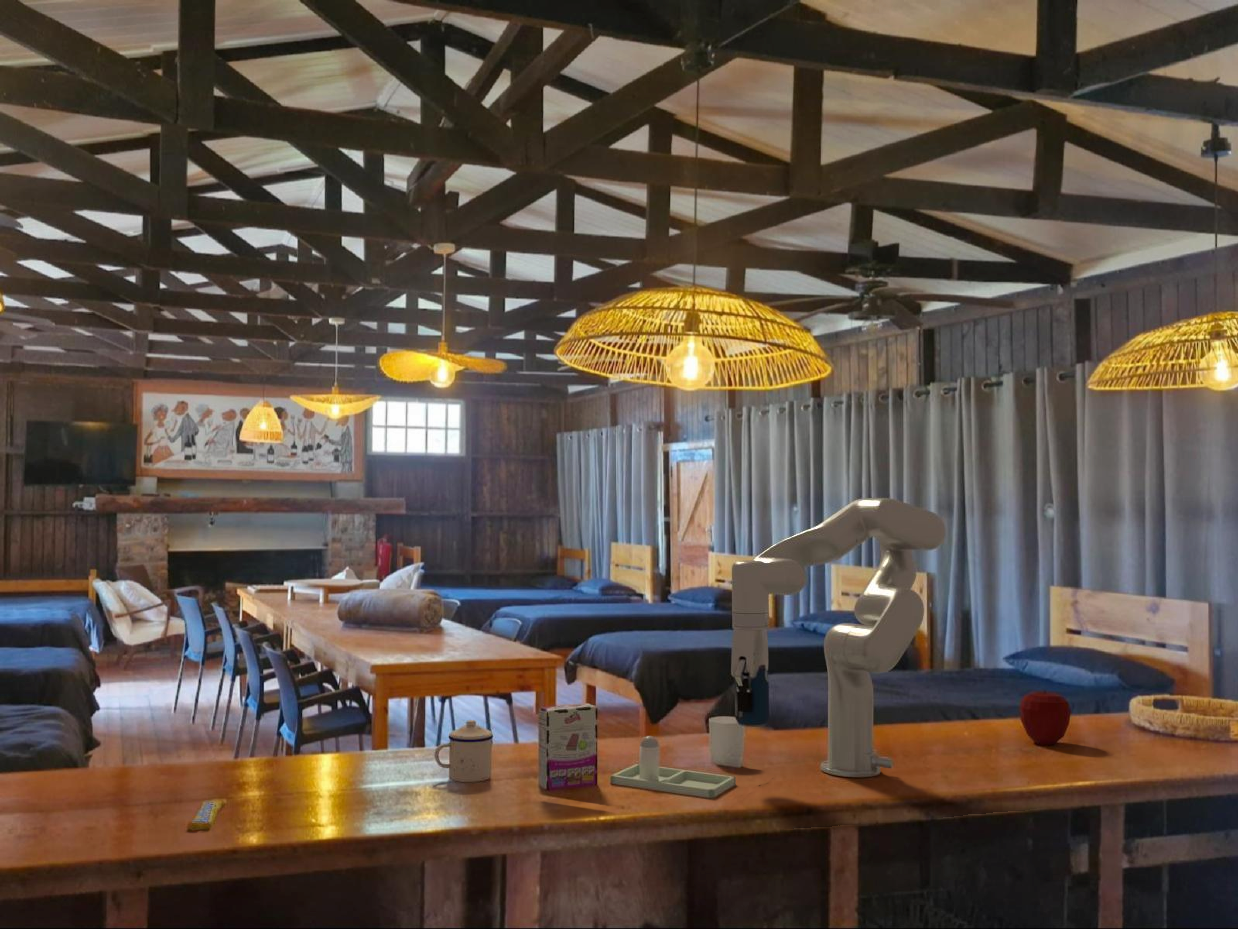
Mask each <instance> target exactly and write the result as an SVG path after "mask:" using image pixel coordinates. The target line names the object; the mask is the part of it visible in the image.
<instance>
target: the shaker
mask: <svg viewBox="0 0 1238 929" xmlns="http://www.w3.org/2000/svg"><path fill="white" fill-rule="evenodd" d="M638 755H639V758H638V759H639V761H638V762H639V763H638V764H639V779H645V780H652V781H659V767H660V745H659V741H658V740H657V738H656V737H654V736H652V735H646V736H645V737H643V738H642V739H641V740H640V743H639V754H638Z"/></svg>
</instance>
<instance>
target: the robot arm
mask: <svg viewBox="0 0 1238 929" xmlns="http://www.w3.org/2000/svg"><path fill="white" fill-rule="evenodd" d="M874 537H877V539H878V540H877V541H878V545H879V549H880V559H879V565H878V566H877V568H876V570H875V571H874V574H873V575H872V576H871V578H870V579H869V580H868V582H867V584H866V585H865V587H864V588H863V590H862V591H861V593H860V595H859V596H858V598H857V599H856V600H855V601H856V602H855V605H854V610H853V612H854V617H855V618H856V620H857V621H858V622H859V624H858V623H852V622H842V623H838V624H835V625H833V626H832V627H831V628H830V629H829V630H827V633H826V635H825V637H824V642H823V652H824V659H825V663H826V668H827V678H828V679H827V682H828V684H827V685H828V689H827V690H828V691H827V692H828V698H827V699H828V700H827V704H828V705H827V717H828V718H827V726H828V727H827V735H828V736H827V737H828V738H827V739H828V740H827V760H823V761H821V763H820V770H821V771H822V772H824V773H826V774H829V775H833V776H837V777H844V778H868V777H869V778H871V777H875V776H879V775H880V773H881V768H883V769H893V767H894V760H893V759H891V758H890V757H888V756H887V757H886V756H880V755H878V751H877V749H874V684H873V681H872V680H873V679H872V677H871V675H870V673H873V674H884V673H887V672H889V671H890V670H892V669H893V668H894V667H895V666H896V665H897V664H898V663H899V661H900V660H901V658H902V656H903V655H904V653H905V652H906V650H907V649H908V647H909V646H910V644H911V643H912V641H913V639H914V637H916V634H917V633H918V631H919V630H920V628H921V625H922V623H923V620H924V615H925V608H924V607H925V606H924V602H923V599H922V598H921V596H920V594H918V593H917V592H916V591H914V589H912V587H913V586H914V583H915V581H916V578H917V567H916V562H915V558H914V555H913V551H932V550H936V549H937V548H939V547H940V546H941V545H942V543H943V542H944V540H945V537H946V526H945V523H944V521H943V520H942V518H941V517H940V516H939V515H938V514H936V513H935V512H934V511H931V510H928V509H925V508H921V507H918V506H917V505H916V506H915V505H913V504H911V503H907V502H904V501H901V500H898V499H896V498H890V497H864V498H863V497H862V498H858V499H855V500H853V501H852V502H850V503H849V504H846V505H845V506H844V507H843V508H841V509H840V510H838V511H837V512H835V513H834V514H832V515H831V516H830V517H828V518H827V519H826V520H824V521H822V522H821V523H818V525H816V526H814V527H812V528H809V529H806V530H804V531H802V532H799V533H797V534H795V535H793V536H790V537H788V538H785V539H783V540H780V541H778V542H777V543H775V544H774V545H771V546H770V547H769V548H767V549H766V550H764V551H763V552H761V553H760V554H758V555H757V556H755V558H754V559H753V560H751V559H750V560H749V559H748V560H747V559H746V560H737V561H735V562H733V564H732V565H731V605H732V606H731V611H732V613H731V616H732V619H731V620H732V627H731V628H732V629H733V633H732V641H731V643H732V644H731V669H730V674H731V676H732V677H733V678H734V680H735V679H736V685H737V707H738V711H740V712H753V692H751V689H752V680H753V678H755V677H756V675H757V673H758V670H759V667H762V666H764V665H765V668H766V670H767V671H769V642H768V631H767V630H768V629H770V595H780V596H781V595H782V596H792V595H796V594H798V593H799V592H801V591H802V590H804V588H805V586H806V584H807V583H808V582H807V581H808V572H807V570H806V568H808V567H814V566H818V565H819V566H820V565H825V564H829V563H833V562H836V561H838V560H840V559H842V558H843V557H844V556H846V555H847V554H849V553H850V552H851V551H853V550H854V549H855V548H857V547H859V546H860V545H861V544H863V543H864V542H865V541H867V540H868V539H870V538H874ZM744 673H750V675H749V676H743V674H744ZM746 680H748V685H747V683H746Z"/></svg>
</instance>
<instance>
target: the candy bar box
mask: <svg viewBox="0 0 1238 929" xmlns="http://www.w3.org/2000/svg"><path fill="white" fill-rule="evenodd" d="M596 785H597V786H598V706H597V705H593V704H592V703H589V702H587V703H586V702H585V703H574V704H564V705H563V704H562V705H553V706H544V707H543V706H542V707H538V786H539V787H540V788H543V789H544V790H546V791H552V790H553V791H554V790H555V791H556V790H563V789H564V790H565V789H572V788H580V787H589V786H596Z"/></svg>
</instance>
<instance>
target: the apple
mask: <svg viewBox="0 0 1238 929" xmlns="http://www.w3.org/2000/svg"><path fill="white" fill-rule="evenodd" d="M1071 710H1072V709H1071V705H1070V703H1069V701H1068V700H1067V699H1066V698H1065V697H1064V696H1063V695H1061V694H1057V693H1054V692H1049V691H1046V688H1044V689H1043V691H1031V692H1028V693H1027V694H1025V695H1024V696H1023V697H1022V700H1021V702H1020V704H1019V714H1020V722H1021V723H1022V726H1023V728H1024V731H1025V733H1026V735H1027V736H1028V737H1029V738H1030V739H1031V740H1032V741H1033V742H1034V743H1035V744H1036V745H1041V746H1049V745H1055V744H1056V743H1057V742H1059V741H1060V740H1061V739H1063V738H1064V737H1065V734H1066V732H1067V729H1068V728H1069V724H1070V720H1071V713H1072V711H1071Z"/></svg>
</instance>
